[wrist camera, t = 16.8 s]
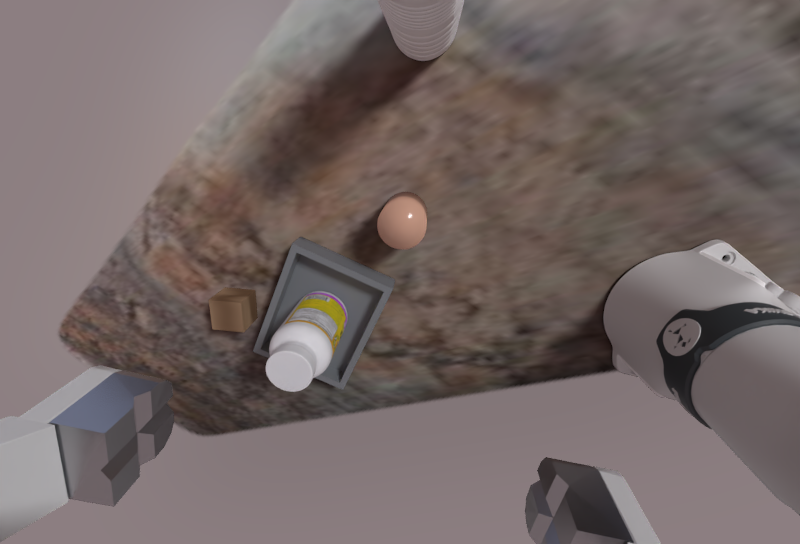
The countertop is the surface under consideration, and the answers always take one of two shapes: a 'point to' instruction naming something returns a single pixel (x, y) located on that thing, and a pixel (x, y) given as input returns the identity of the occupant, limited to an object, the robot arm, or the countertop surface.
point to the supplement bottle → (306, 341)
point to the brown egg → (403, 221)
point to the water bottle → (422, 25)
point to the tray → (342, 278)
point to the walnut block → (233, 309)
